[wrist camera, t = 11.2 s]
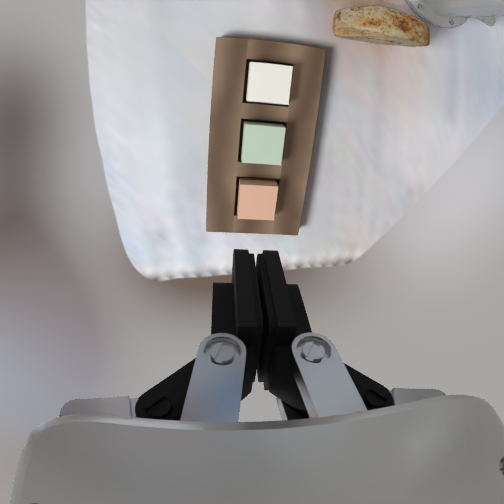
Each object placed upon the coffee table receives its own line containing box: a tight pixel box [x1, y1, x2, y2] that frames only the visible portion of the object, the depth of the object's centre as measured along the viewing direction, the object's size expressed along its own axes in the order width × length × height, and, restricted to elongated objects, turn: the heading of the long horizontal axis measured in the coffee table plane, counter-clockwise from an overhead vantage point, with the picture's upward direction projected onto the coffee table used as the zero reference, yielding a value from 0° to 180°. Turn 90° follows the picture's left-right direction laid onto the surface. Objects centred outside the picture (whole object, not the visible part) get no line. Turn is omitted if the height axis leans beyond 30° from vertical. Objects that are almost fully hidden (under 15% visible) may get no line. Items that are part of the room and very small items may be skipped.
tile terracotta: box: [237, 177, 278, 220], centre depth 37 cm, size 4×4×2 cm
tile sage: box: [241, 121, 286, 165], centre depth 33 cm, size 4×4×2 cm
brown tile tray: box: [206, 37, 326, 235], centre depth 34 cm, size 12×24×2 cm, turn 175°
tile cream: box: [246, 62, 293, 105], centre depth 30 cm, size 4×4×2 cm
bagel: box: [333, 5, 430, 47], centre depth 24 cm, size 10×4×10 cm, turn 91°
